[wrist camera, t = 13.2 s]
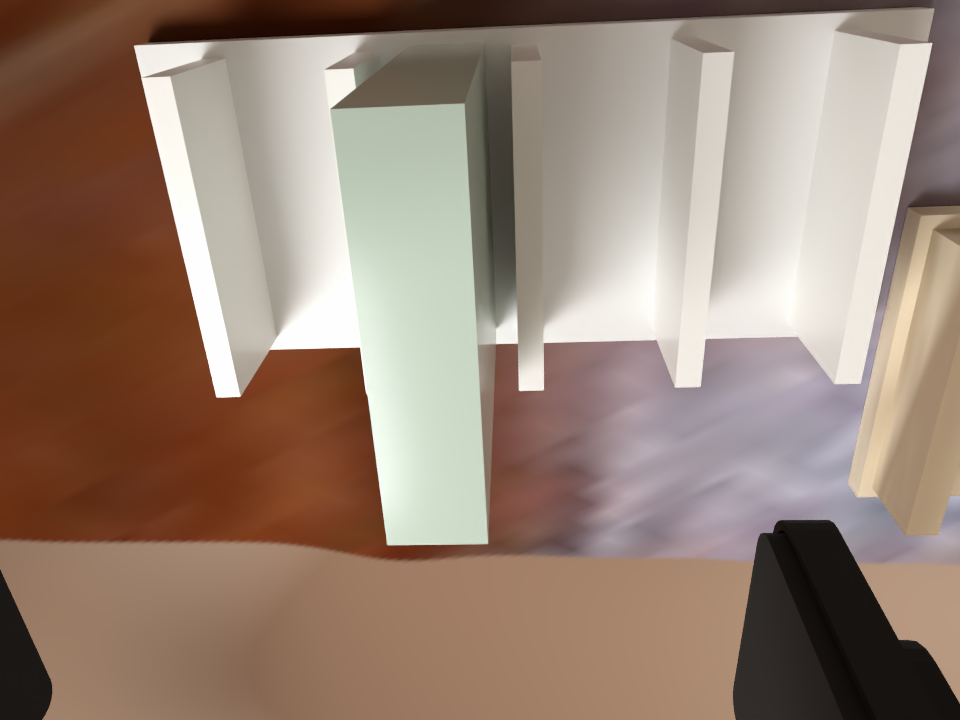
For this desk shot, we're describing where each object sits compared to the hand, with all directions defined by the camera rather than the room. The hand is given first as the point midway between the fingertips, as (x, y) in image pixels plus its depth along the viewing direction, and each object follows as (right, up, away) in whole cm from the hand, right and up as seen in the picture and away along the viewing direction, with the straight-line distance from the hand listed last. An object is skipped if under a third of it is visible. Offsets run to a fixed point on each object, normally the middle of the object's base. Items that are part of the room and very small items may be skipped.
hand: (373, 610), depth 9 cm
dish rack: (+3, +9, +18) cm, 20 cm away
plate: (+1, +9, +17) cm, 19 cm away
